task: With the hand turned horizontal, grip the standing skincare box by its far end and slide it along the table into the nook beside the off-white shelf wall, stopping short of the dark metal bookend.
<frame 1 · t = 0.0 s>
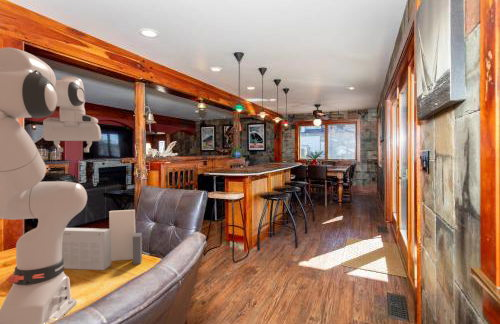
hand: (73, 152, 112), 48 cm above the table, tool pointing down, fingers open, 8 cm apart
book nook: (125, 261, 120), on the table
skincare box: (84, 267, 115), on the table
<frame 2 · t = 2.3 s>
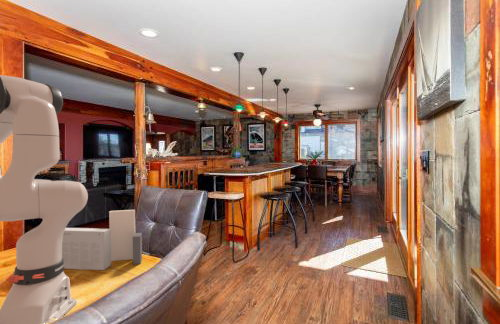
hand: (54, 186, 111), 34 cm above the table, tool horizontal, fingers open, 8 cm apart
nothing on the table moved.
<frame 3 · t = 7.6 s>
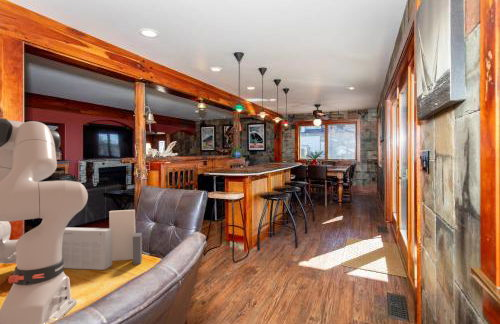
hand: (58, 247, 112), 9 cm above the table, tool horizontal, fingers open, 8 cm apart
skincare box: (85, 267, 115), on the table, touching gripper
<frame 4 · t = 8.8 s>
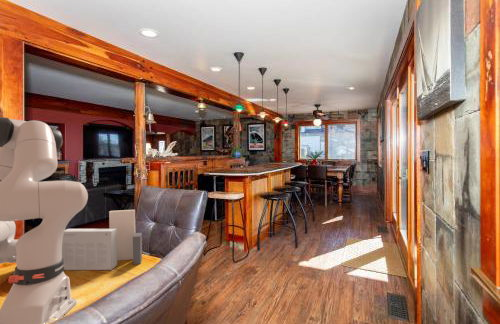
hand: (63, 247, 113), 9 cm above the table, tool horizontal, fingers closed on skincare box, 3 cm apart
skincare box: (89, 268, 114), on the table, touching gripper
when the fingers open (9 cm above the table, at t = 10.6 s): skincare box stays where it is, on the table.
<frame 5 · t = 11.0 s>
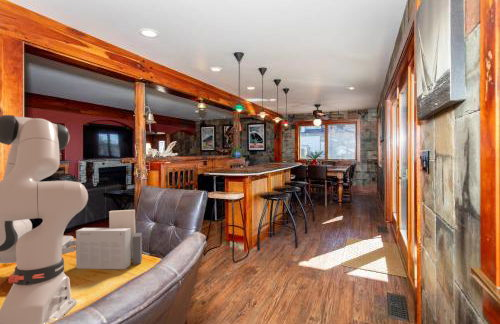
hand: (78, 246, 114), 9 cm above the table, tool horizontal, fingers open, 6 cm apart
skincare box: (104, 267, 115), on the table
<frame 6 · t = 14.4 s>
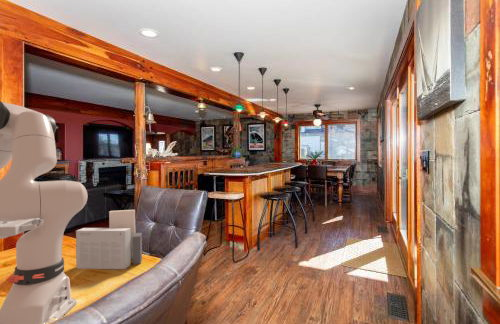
hand: (42, 223, 110), 19 cm above the table, tool horizontal, fingers open, 8 cm apart
nothing on the table moved.
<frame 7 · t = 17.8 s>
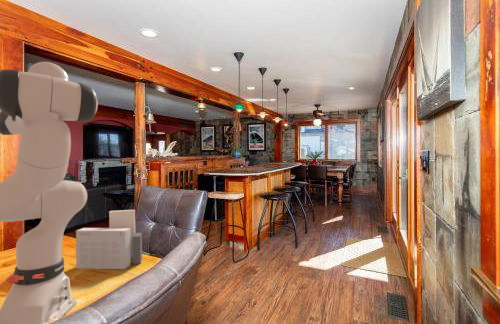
hand: (39, 179, 109), 37 cm above the table, tool pointing down, fingers open, 8 cm apart
nothing on the table moved.
at the end: skincare box 1.9 cm from the target spot, on the table; skincare box tilted 0°; the gripper is holding nothing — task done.
